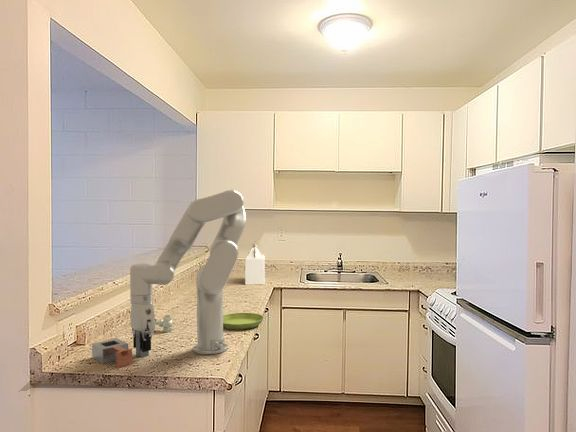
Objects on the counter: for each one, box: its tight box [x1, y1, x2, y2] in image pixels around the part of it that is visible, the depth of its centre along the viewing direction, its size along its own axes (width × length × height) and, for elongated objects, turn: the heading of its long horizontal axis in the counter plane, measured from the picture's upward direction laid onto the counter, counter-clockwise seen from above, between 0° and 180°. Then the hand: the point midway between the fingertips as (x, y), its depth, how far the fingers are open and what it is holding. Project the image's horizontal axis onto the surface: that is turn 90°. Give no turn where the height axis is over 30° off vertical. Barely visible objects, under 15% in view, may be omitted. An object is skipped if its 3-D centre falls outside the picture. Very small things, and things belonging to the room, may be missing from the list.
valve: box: [154, 314, 174, 333], centre depth 192 cm, size 7×7×12 cm
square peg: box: [135, 329, 150, 359], centre depth 159 cm, size 3×3×9 cm
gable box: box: [244, 241, 266, 285], centre depth 312 cm, size 22×13×28 cm, turn 3°
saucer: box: [223, 312, 265, 330], centre depth 201 cm, size 21×21×3 cm
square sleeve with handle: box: [91, 337, 133, 368], centre depth 155 cm, size 16×9×5 cm, turn 45°
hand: (142, 348), depth 159 cm, fingers open, 5 cm apart
